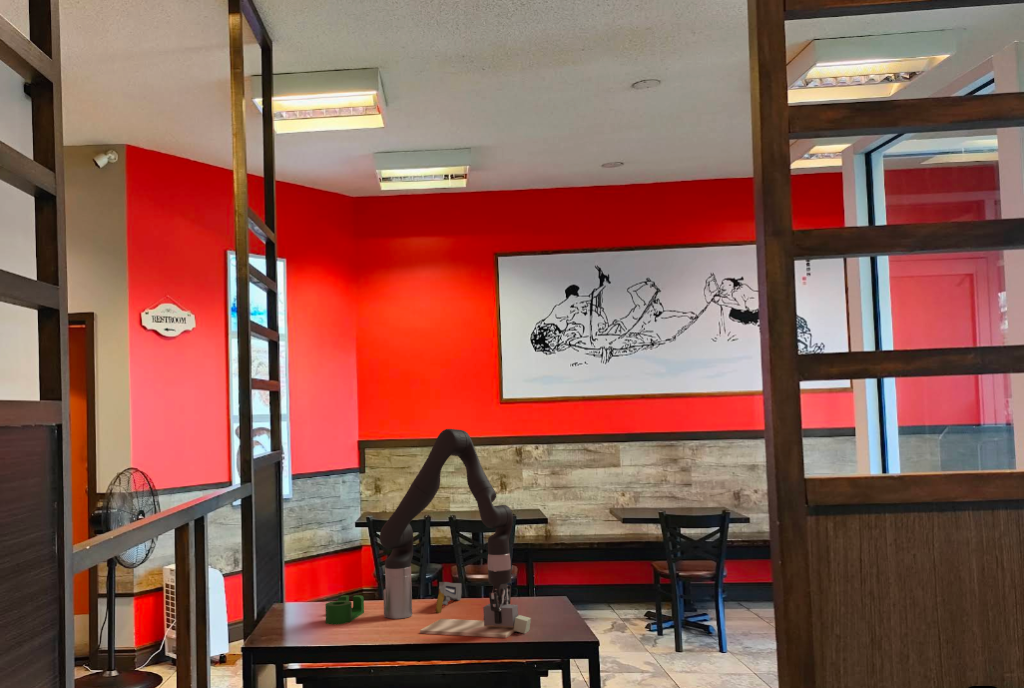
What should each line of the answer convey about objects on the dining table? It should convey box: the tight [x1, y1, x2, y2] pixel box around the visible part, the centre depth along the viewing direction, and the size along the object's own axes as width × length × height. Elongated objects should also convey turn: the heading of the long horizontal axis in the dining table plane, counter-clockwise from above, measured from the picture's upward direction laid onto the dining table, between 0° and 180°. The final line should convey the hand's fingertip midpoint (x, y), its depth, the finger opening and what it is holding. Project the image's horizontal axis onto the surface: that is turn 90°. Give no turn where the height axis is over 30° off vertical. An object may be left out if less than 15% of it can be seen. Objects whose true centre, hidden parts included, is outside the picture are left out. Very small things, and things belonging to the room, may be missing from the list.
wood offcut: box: [513, 614, 532, 634], centre depth 253 cm, size 4×4×4 cm
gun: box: [435, 581, 463, 614], centre depth 298 cm, size 3×25×15 cm, turn 166°
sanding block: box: [482, 603, 519, 627], centre depth 256 cm, size 10×5×6 cm, turn 70°
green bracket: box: [325, 594, 365, 626], centre depth 283 cm, size 18×9×6 cm, turn 171°
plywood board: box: [419, 618, 516, 639], centre depth 259 cm, size 30×16×1 cm, turn 70°
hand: (501, 621), depth 256 cm, fingers closed on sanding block, 5 cm apart
